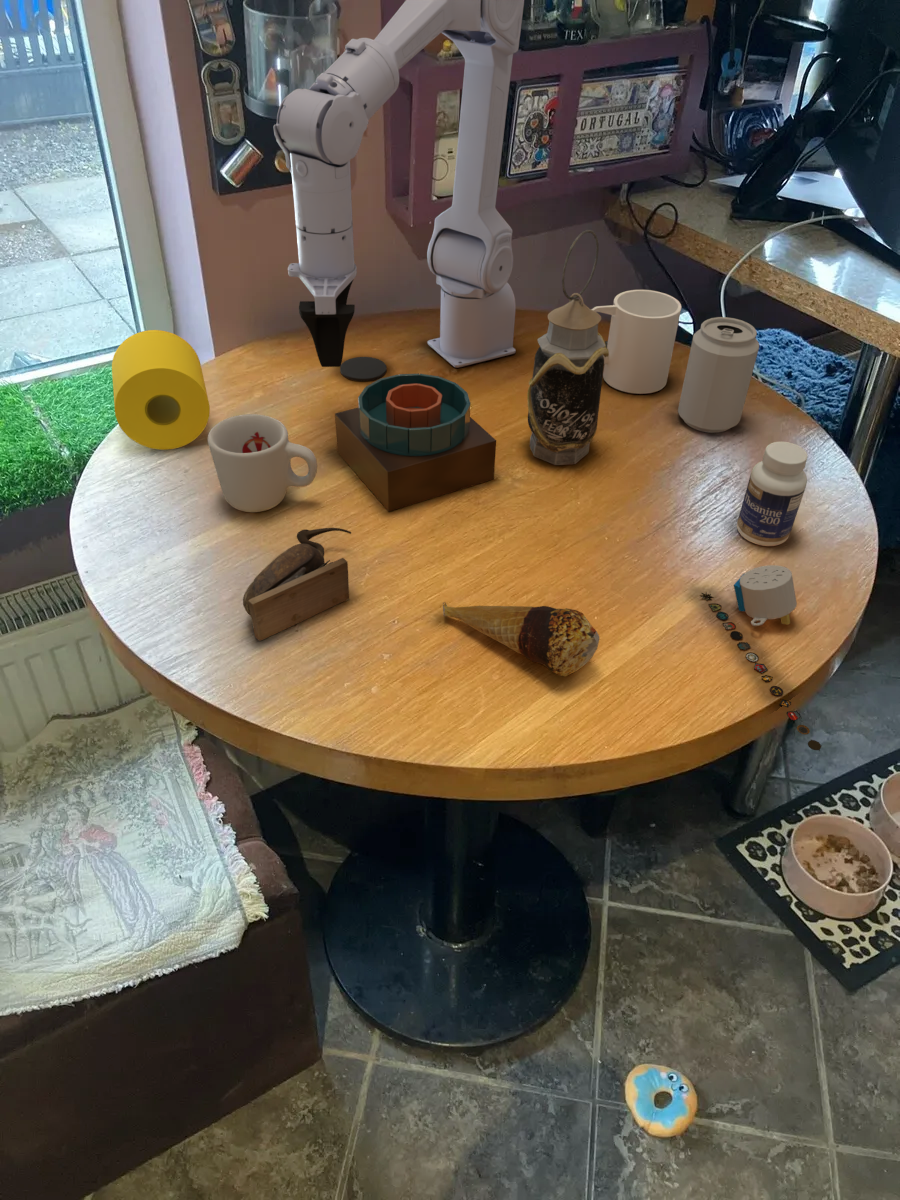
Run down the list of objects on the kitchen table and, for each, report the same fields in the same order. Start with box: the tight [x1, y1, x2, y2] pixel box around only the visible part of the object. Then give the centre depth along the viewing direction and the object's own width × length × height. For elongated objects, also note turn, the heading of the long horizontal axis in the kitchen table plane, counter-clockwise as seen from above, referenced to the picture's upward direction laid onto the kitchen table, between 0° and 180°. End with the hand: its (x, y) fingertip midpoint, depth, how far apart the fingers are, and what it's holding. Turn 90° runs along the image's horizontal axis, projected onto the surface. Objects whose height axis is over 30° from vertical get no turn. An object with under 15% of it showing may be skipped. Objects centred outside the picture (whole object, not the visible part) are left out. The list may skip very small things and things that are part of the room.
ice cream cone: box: [442, 601, 600, 678], centre depth 82 cm, size 6×6×15 cm
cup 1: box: [207, 413, 318, 513], centre depth 97 cm, size 11×8×8 cm
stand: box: [334, 407, 497, 512], centre depth 104 cm, size 13×13×5 cm
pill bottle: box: [736, 441, 808, 547], centre depth 94 cm, size 5×5×10 cm
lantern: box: [526, 229, 609, 466], centre depth 100 cm, size 9×8×25 cm
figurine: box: [242, 527, 352, 642], centre depth 88 cm, size 14×4×9 cm
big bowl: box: [357, 372, 472, 456], centre depth 101 cm, size 12×12×3 cm
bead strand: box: [699, 591, 823, 752], centre depth 83 cm, size 20×1×1 cm
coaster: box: [339, 356, 388, 382], centre depth 121 cm, size 6×6×1 cm
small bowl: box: [386, 383, 442, 428], centre depth 101 cm, size 6×6×3 cm
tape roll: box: [111, 329, 211, 451], centre depth 107 cm, size 10×10×9 cm
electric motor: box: [733, 564, 798, 627], centre depth 87 cm, size 7×5×5 cm
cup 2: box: [590, 289, 682, 395], centre depth 118 cm, size 8×12×10 cm
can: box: [677, 316, 760, 434], centre depth 110 cm, size 8×8×12 cm
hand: (332, 348), depth 104 cm, fingers open, 7 cm apart
